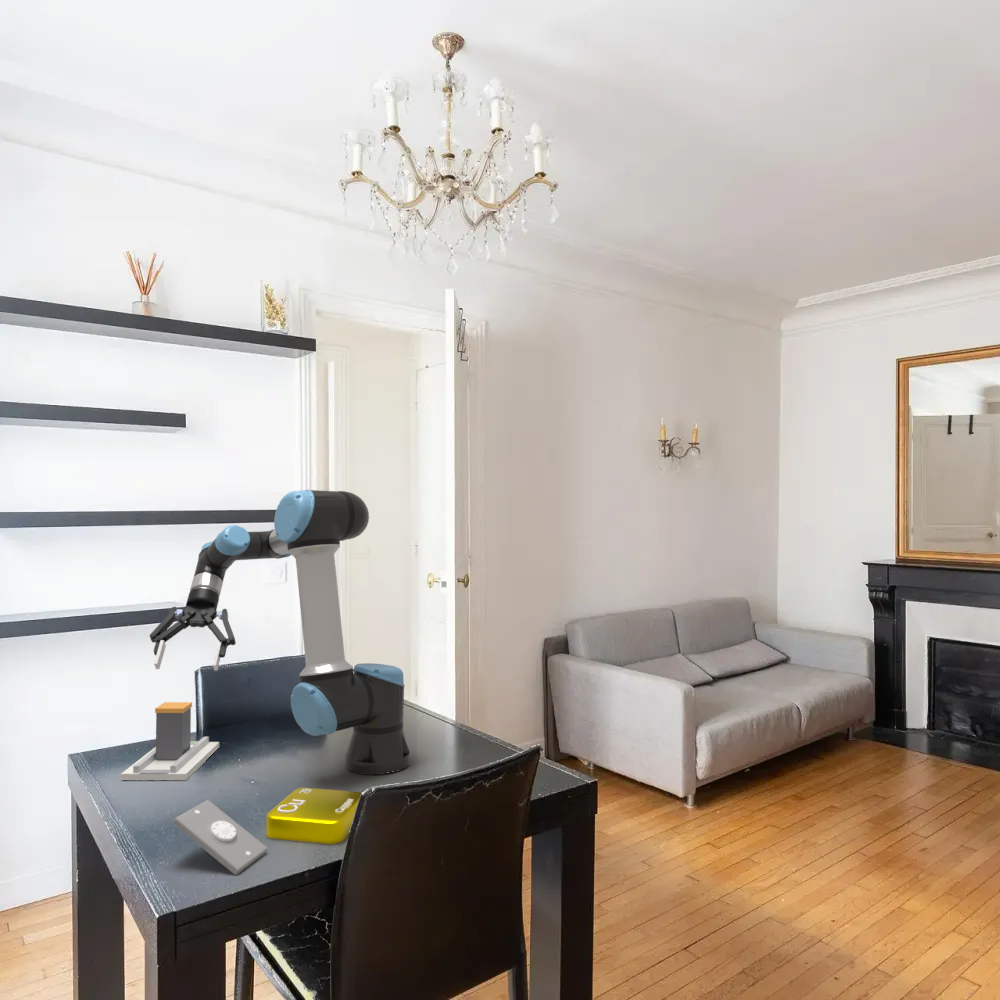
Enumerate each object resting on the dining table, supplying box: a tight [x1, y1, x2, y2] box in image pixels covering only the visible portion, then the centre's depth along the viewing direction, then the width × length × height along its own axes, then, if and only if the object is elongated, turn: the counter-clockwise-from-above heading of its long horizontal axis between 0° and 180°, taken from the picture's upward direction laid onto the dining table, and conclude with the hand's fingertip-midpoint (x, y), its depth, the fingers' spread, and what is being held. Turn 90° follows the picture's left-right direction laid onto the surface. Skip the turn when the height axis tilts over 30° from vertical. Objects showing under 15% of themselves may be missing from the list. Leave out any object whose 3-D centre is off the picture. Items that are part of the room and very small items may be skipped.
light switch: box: [172, 799, 268, 875], centre depth 132 cm, size 8×6×14 cm
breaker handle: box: [154, 701, 193, 760], centre depth 178 cm, size 5×6×12 cm
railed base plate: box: [120, 736, 220, 782], centre depth 178 cm, size 22×14×3 cm, turn 2°
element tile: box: [265, 787, 362, 845], centre depth 146 cm, size 15×15×5 cm
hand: (185, 667), depth 185 cm, fingers open, 13 cm apart
